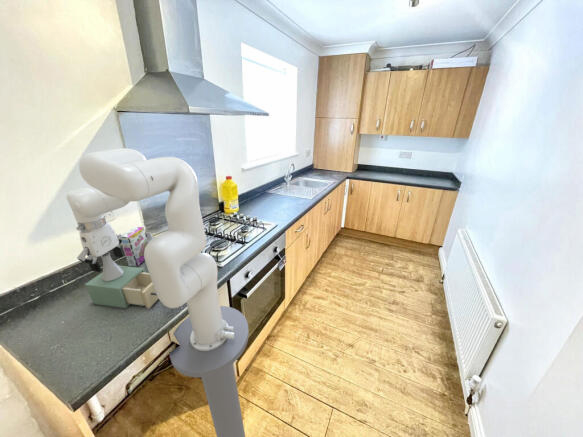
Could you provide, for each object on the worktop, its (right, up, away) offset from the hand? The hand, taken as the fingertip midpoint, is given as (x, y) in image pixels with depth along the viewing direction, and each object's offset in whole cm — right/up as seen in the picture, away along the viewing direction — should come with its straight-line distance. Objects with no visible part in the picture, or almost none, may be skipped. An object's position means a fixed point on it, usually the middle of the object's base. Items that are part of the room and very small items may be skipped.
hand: (108, 263), depth 89 cm
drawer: (+14, -14, +4) cm, 21 cm away
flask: (0, -6, +2) cm, 6 cm away
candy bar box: (-6, -4, +29) cm, 30 cm away
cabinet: (+1, -14, +6) cm, 16 cm away
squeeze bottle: (+4, -6, +25) cm, 26 cm away
